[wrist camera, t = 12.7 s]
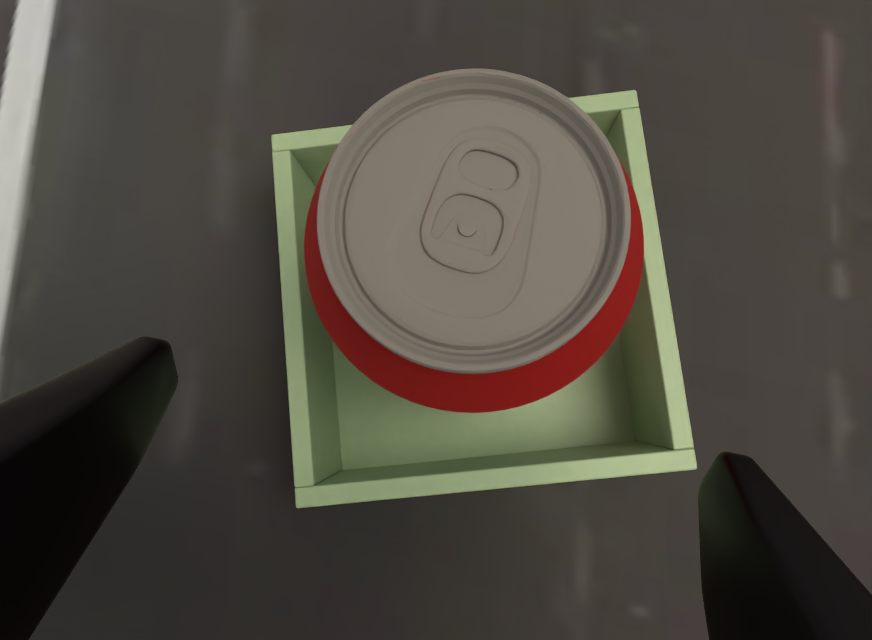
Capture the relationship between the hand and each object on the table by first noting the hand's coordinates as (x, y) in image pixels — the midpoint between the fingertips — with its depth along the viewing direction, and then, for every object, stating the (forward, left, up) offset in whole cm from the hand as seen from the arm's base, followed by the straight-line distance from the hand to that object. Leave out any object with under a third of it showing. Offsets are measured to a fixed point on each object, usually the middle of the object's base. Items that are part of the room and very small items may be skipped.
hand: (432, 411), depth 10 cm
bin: (+3, -1, -12) cm, 13 cm away
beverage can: (+3, -1, -12) cm, 13 cm away
